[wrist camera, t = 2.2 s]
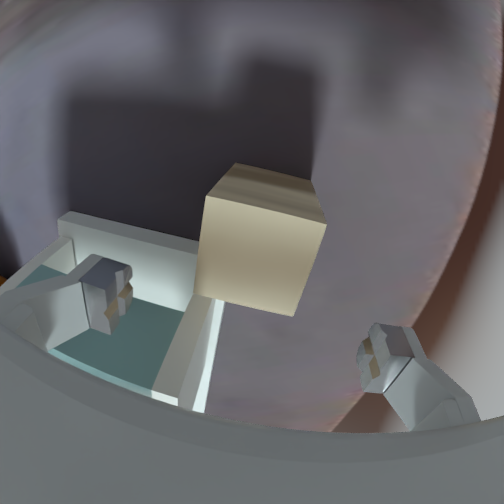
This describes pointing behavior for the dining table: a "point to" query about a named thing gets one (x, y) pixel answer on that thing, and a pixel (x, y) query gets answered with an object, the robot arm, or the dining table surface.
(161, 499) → the robot arm
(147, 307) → the cover
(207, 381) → the white peg base plate
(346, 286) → the dining table surface
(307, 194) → the block
